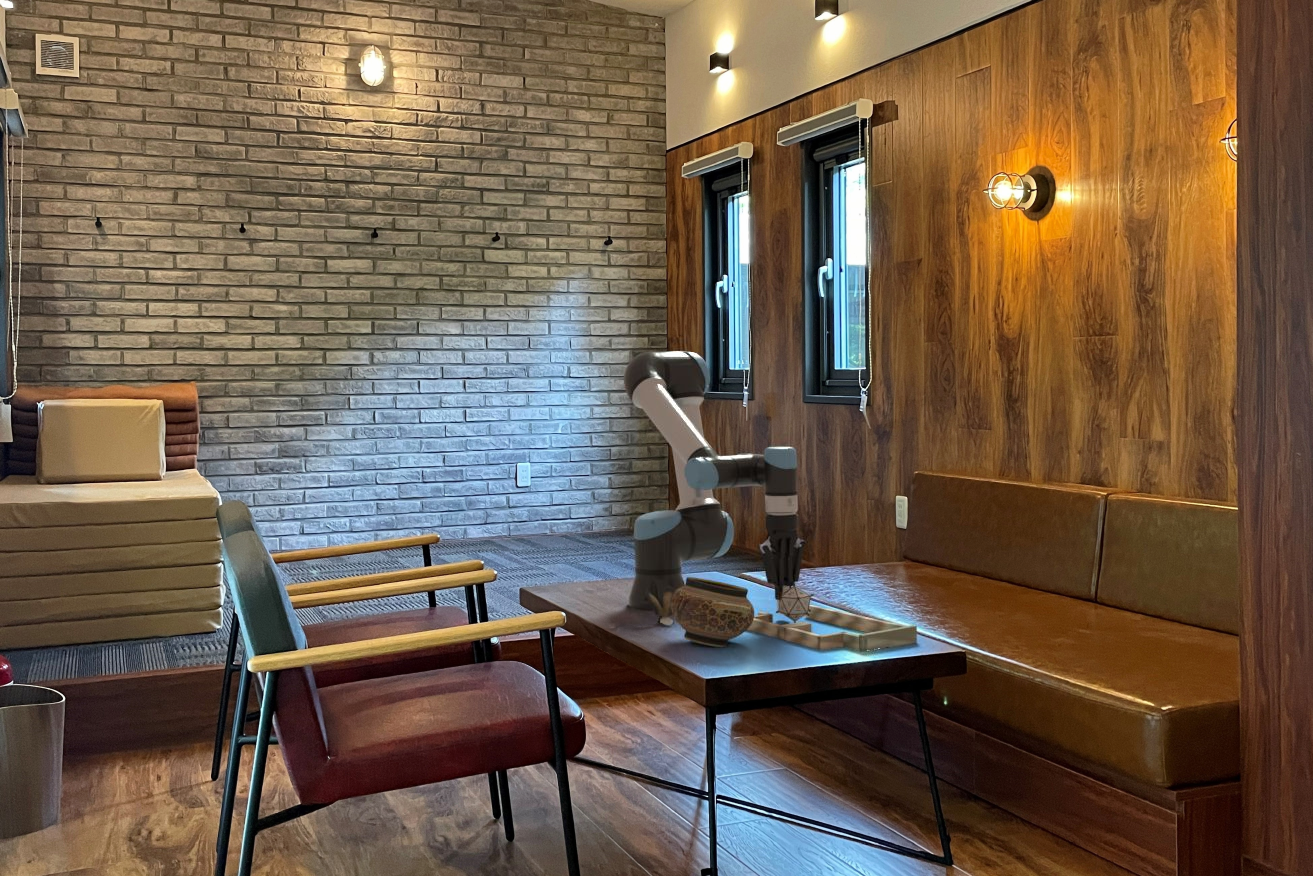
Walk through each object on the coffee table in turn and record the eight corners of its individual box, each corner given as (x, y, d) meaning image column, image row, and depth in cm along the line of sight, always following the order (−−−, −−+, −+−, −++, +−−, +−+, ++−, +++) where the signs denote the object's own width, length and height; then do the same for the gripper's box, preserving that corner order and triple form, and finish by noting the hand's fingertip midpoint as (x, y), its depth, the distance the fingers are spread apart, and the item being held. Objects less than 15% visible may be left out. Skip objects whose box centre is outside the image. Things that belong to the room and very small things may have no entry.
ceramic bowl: (651, 640, 267) (650, 572, 267) (723, 631, 275) (722, 565, 274) (700, 663, 245) (699, 589, 244) (777, 653, 252) (776, 581, 251)
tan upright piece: (664, 622, 286) (663, 584, 286) (685, 626, 281) (685, 587, 281) (640, 627, 281) (639, 589, 280) (662, 631, 276) (661, 592, 275)
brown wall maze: (737, 628, 277) (736, 613, 277) (809, 616, 289) (809, 602, 289) (841, 656, 248) (840, 639, 248) (917, 642, 260) (916, 626, 259)
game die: (804, 630, 274) (804, 586, 273) (770, 627, 278) (769, 584, 277) (819, 623, 282) (818, 580, 281) (785, 620, 286) (784, 578, 285)
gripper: (769, 516, 277) (771, 619, 278) (813, 512, 284) (815, 612, 285) (749, 514, 283) (751, 614, 285) (793, 509, 291) (795, 607, 292)
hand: (783, 613), depth 285 cm, fingers closed
